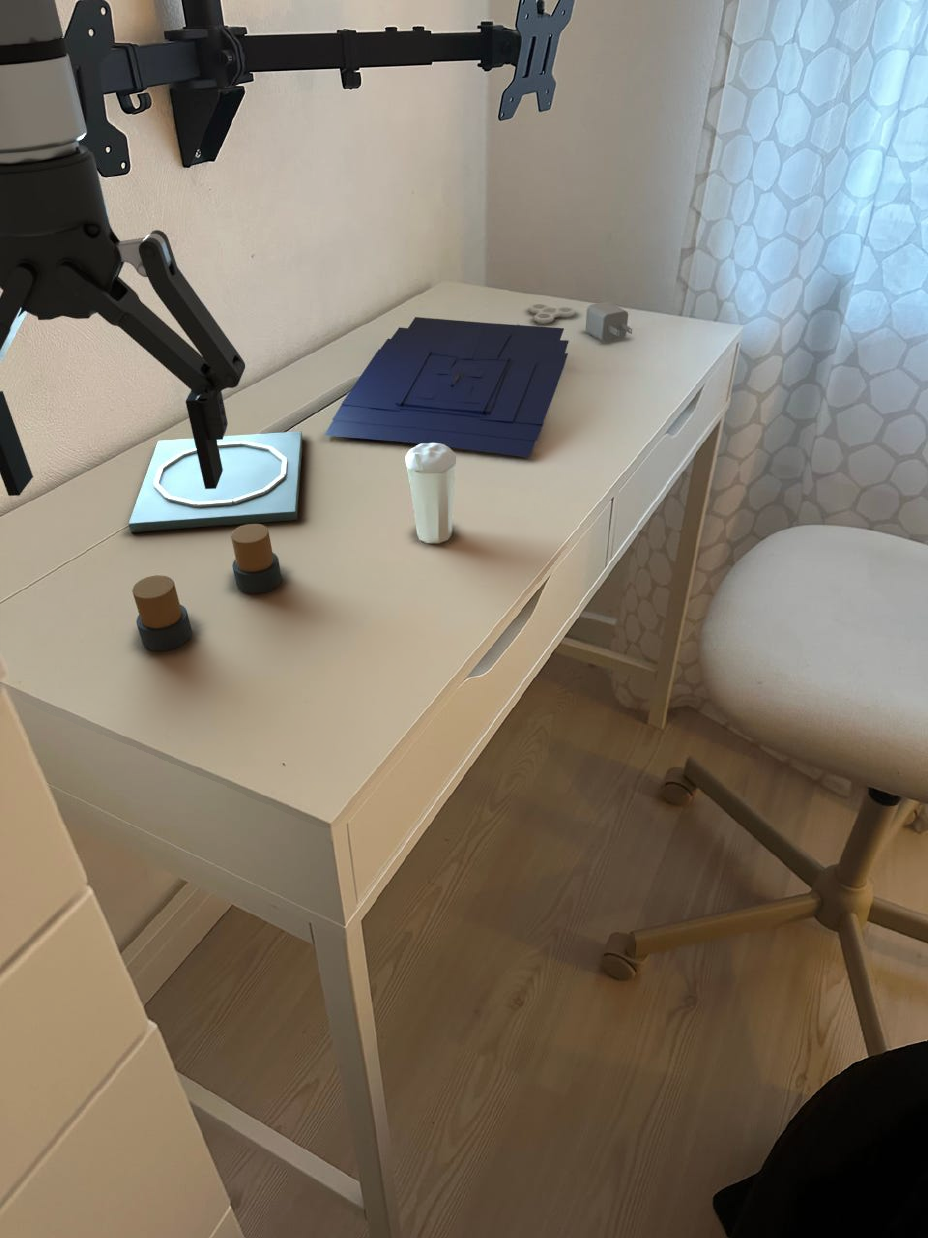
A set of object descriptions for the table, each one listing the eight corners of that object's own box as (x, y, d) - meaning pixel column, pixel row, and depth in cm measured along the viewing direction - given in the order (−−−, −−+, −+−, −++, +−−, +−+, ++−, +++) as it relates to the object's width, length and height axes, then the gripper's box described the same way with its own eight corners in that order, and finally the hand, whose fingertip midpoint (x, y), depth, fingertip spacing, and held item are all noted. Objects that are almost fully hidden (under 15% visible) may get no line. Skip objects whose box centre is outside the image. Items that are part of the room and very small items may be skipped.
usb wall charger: (609, 328, 128) (611, 300, 126) (636, 344, 123) (639, 315, 121) (585, 333, 127) (587, 305, 124) (611, 349, 122) (614, 320, 119)
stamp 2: (234, 595, 78) (223, 547, 75) (238, 569, 81) (228, 522, 78) (280, 591, 78) (271, 543, 75) (282, 566, 81) (274, 519, 78)
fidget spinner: (577, 312, 133) (577, 307, 133) (563, 326, 129) (563, 321, 128) (533, 307, 136) (533, 301, 135) (518, 320, 131) (518, 315, 131)
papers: (577, 348, 119) (578, 322, 116) (531, 478, 98) (531, 450, 96) (403, 334, 124) (401, 309, 121) (325, 455, 103) (320, 428, 101)
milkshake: (399, 547, 84) (392, 450, 77) (421, 519, 87) (415, 424, 81) (445, 556, 82) (441, 458, 76) (464, 526, 86) (462, 431, 80)
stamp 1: (138, 653, 72) (122, 603, 69) (146, 623, 75) (131, 574, 72) (188, 649, 72) (175, 599, 69) (195, 619, 75) (182, 570, 72)
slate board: (130, 532, 87) (127, 521, 86) (159, 448, 101) (157, 437, 100) (296, 520, 88) (295, 508, 87) (302, 438, 102) (301, 428, 101)
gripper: (253, 130, 53) (300, 452, 66) (-168, 142, 53) (-38, 463, 66) (231, 155, 47) (287, 503, 60) (-244, 169, 47) (-84, 516, 60)
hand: (118, 483), depth 63 cm, fingers open, 13 cm apart
